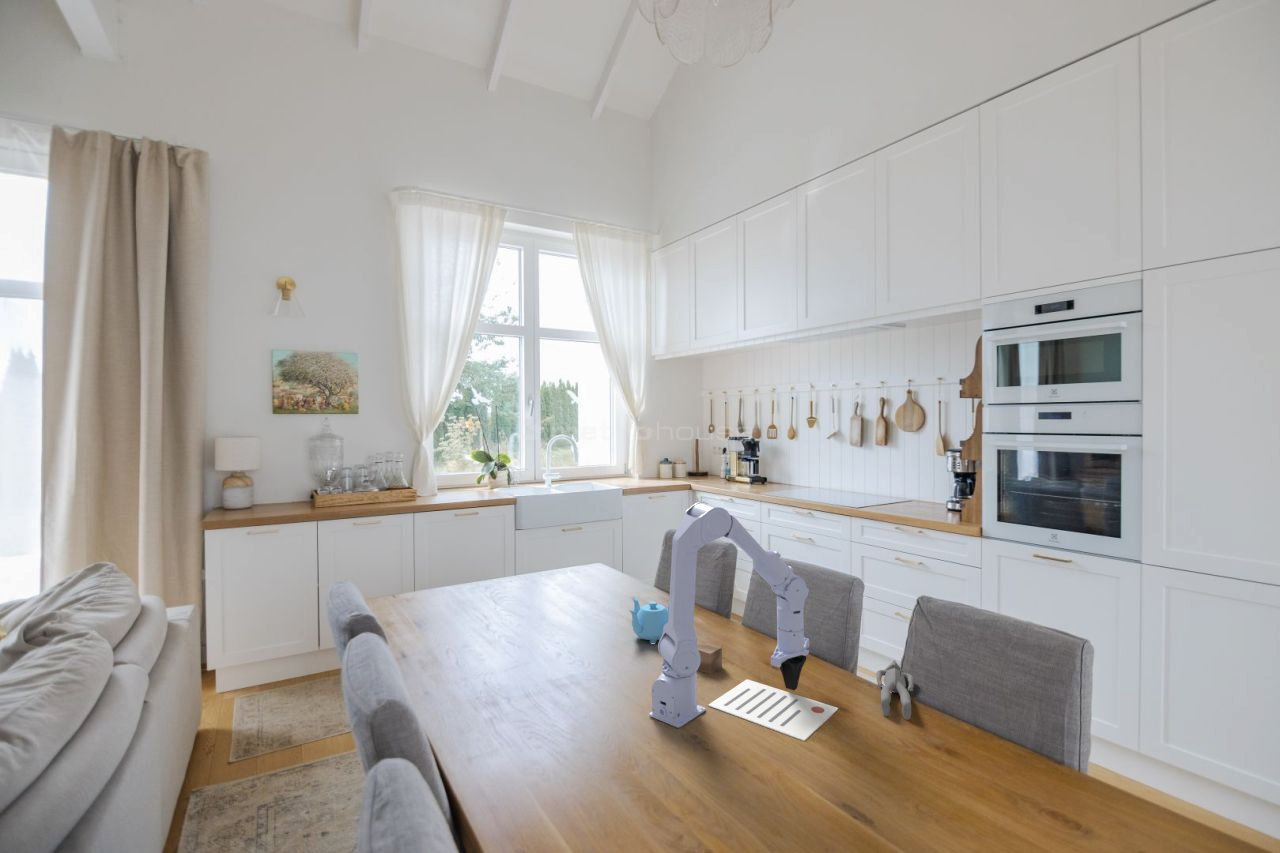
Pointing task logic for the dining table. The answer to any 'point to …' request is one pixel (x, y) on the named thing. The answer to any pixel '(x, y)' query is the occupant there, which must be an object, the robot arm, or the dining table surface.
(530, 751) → the dining table surface
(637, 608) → the teapot
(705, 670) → the walnut cube
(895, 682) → the alien figure
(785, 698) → the white card
